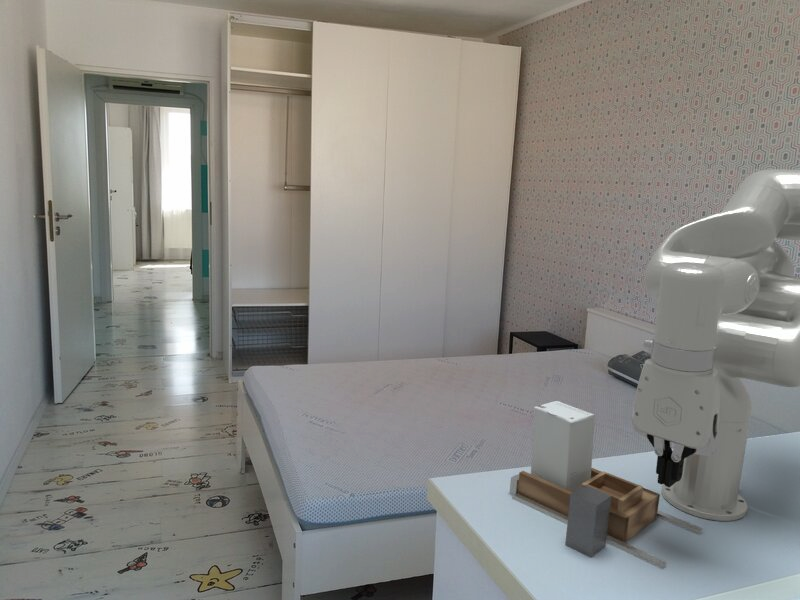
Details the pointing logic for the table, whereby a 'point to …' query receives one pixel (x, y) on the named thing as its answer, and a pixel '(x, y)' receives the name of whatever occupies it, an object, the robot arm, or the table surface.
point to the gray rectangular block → (588, 520)
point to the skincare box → (562, 444)
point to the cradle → (627, 499)
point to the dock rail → (609, 539)
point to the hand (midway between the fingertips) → (667, 481)
